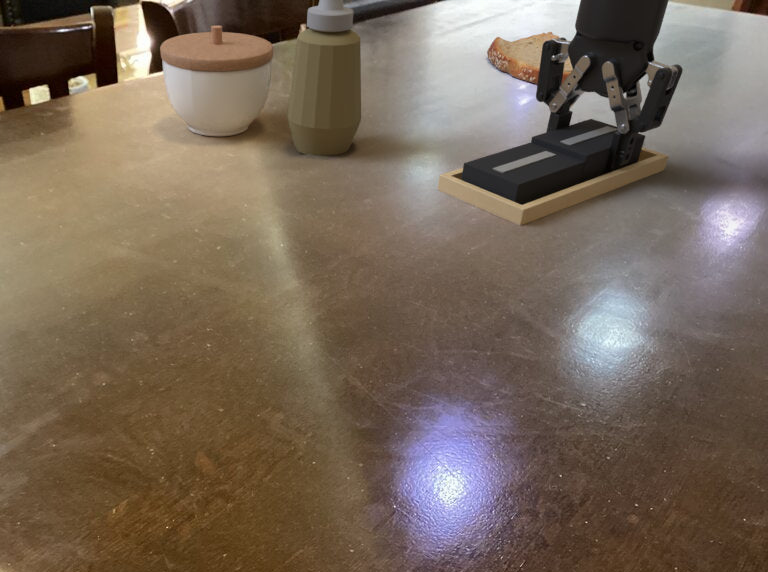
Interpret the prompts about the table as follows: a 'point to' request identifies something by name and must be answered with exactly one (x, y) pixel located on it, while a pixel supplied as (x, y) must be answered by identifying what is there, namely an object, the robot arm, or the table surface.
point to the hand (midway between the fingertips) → (583, 157)
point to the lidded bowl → (217, 79)
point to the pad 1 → (524, 173)
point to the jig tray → (555, 202)
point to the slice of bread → (522, 57)
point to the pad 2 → (587, 145)
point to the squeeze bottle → (326, 82)
